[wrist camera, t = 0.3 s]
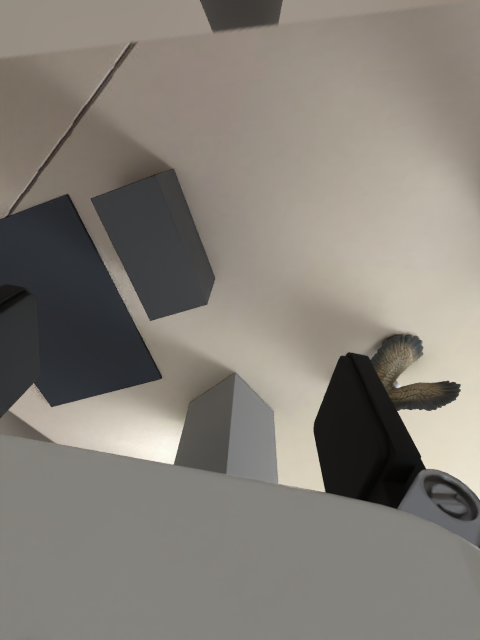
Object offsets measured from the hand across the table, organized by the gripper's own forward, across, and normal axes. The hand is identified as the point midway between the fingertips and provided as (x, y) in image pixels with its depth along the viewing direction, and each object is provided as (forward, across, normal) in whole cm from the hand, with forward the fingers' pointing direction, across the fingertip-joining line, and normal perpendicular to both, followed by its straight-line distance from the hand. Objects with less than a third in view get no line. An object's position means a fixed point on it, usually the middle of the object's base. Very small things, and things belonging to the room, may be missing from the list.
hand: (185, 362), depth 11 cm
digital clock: (+22, +5, +2) cm, 23 cm away
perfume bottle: (+23, -4, +20) cm, 31 cm away
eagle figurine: (+23, -19, +12) cm, 32 cm away
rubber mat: (+22, +15, +13) cm, 30 cm away
